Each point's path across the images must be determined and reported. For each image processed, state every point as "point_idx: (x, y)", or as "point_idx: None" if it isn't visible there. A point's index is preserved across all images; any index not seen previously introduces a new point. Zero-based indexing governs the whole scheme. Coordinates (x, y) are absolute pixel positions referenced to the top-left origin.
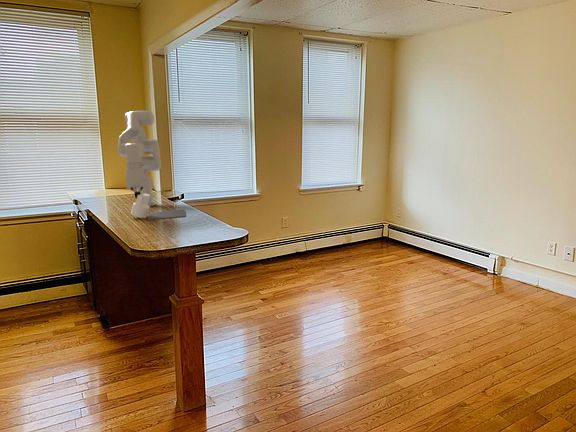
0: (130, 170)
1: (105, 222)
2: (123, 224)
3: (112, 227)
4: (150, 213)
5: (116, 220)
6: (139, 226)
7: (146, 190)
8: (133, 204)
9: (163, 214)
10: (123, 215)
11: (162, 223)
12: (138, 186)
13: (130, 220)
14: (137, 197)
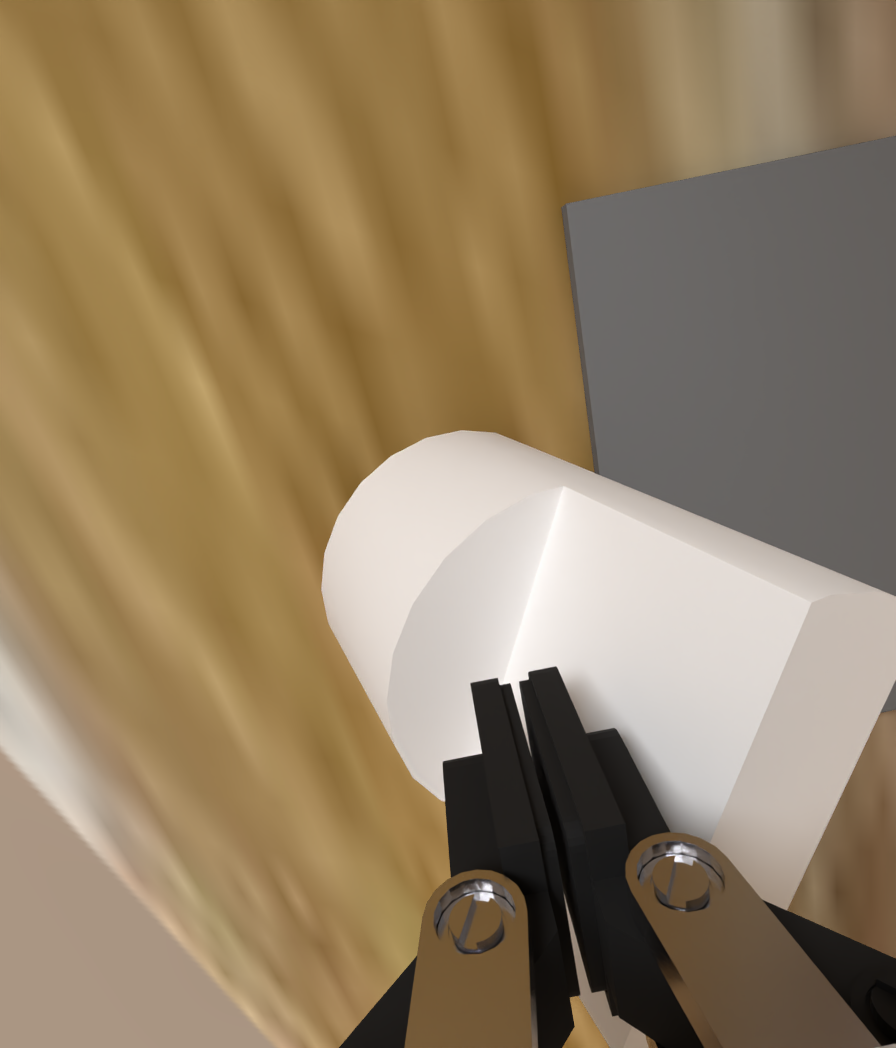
0: None
1: (33, 765)
2: (362, 910)
3: (284, 1017)
4: (599, 311)
5: (143, 668)
6: (587, 1016)
7: None
8: (414, 775)
9: (837, 473)
10: (61, 251)
11: None
12: None
13: (374, 711)
14: (580, 985)
